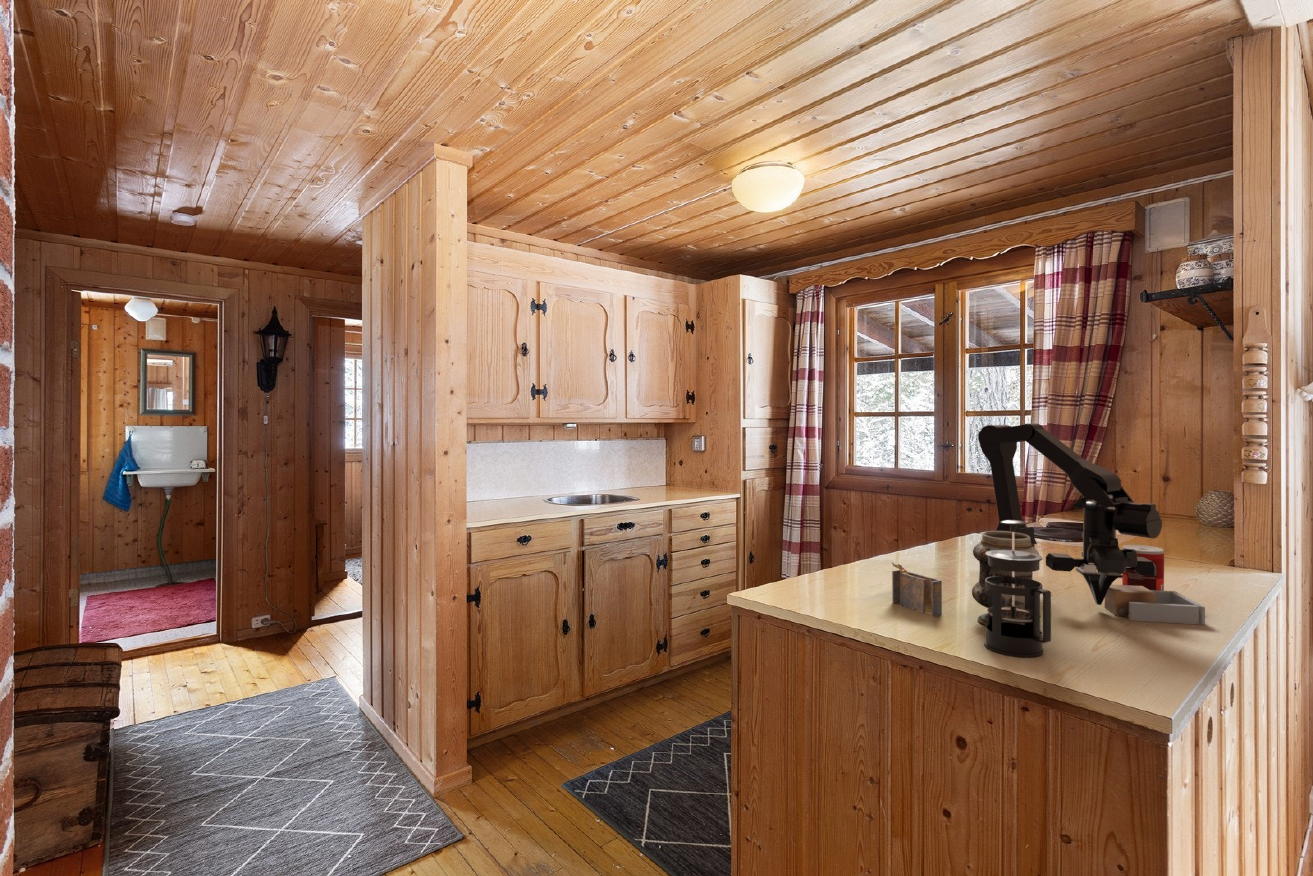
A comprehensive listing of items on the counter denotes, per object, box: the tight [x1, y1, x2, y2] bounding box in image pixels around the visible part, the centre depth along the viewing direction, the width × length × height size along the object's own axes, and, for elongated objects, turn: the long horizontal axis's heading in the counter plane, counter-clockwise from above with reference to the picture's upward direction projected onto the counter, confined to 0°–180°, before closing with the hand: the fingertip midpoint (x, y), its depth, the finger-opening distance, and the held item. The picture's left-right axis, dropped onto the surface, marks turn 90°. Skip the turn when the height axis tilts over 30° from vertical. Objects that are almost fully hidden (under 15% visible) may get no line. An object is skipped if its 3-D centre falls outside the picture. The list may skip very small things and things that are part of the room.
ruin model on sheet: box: [891, 562, 943, 617], centre depth 141 cm, size 11×3×10 cm, turn 24°
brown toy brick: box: [1104, 584, 1156, 618], centre depth 136 cm, size 7×7×5 cm
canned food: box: [1121, 544, 1165, 591], centre depth 148 cm, size 8×8×11 cm
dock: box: [1128, 590, 1206, 626], centre depth 135 cm, size 12×12×4 cm
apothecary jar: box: [971, 530, 1040, 626], centre depth 130 cm, size 12×12×18 cm
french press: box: [983, 520, 1052, 659], centre depth 116 cm, size 12×9×23 cm
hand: (1098, 604), depth 137 cm, fingers closed
